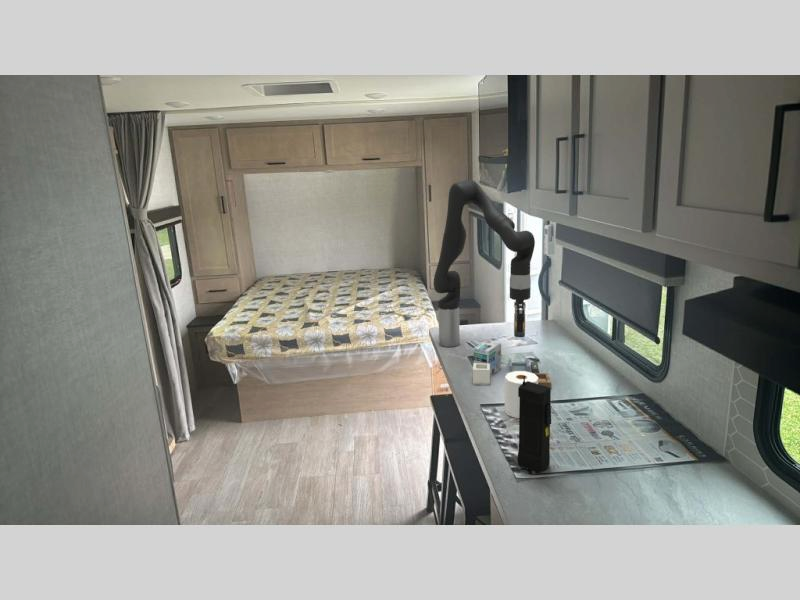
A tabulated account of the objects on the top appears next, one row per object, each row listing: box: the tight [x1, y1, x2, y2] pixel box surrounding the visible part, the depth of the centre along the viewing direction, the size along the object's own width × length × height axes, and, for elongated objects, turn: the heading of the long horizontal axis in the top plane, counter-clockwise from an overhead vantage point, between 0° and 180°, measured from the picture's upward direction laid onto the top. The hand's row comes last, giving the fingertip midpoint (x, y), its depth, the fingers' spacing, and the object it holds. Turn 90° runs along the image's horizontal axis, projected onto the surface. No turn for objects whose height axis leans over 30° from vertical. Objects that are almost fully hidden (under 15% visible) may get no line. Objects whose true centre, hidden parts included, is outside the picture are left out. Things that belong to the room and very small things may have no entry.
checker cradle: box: [505, 357, 541, 374], centre depth 198 cm, size 11×12×4 cm
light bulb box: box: [473, 340, 502, 377], centre depth 200 cm, size 11×7×11 cm, turn 143°
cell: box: [513, 312, 526, 338], centre depth 194 cm, size 4×4×9 cm
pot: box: [472, 362, 491, 386], centre depth 191 cm, size 6×6×6 cm
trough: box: [534, 372, 552, 389], centre depth 187 cm, size 8×8×2 cm
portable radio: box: [517, 376, 552, 474], centre depth 135 cm, size 8×6×25 cm
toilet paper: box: [504, 371, 538, 419], centre depth 166 cm, size 10×10×12 cm
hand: (519, 329), depth 195 cm, fingers closed on cell, 4 cm apart
